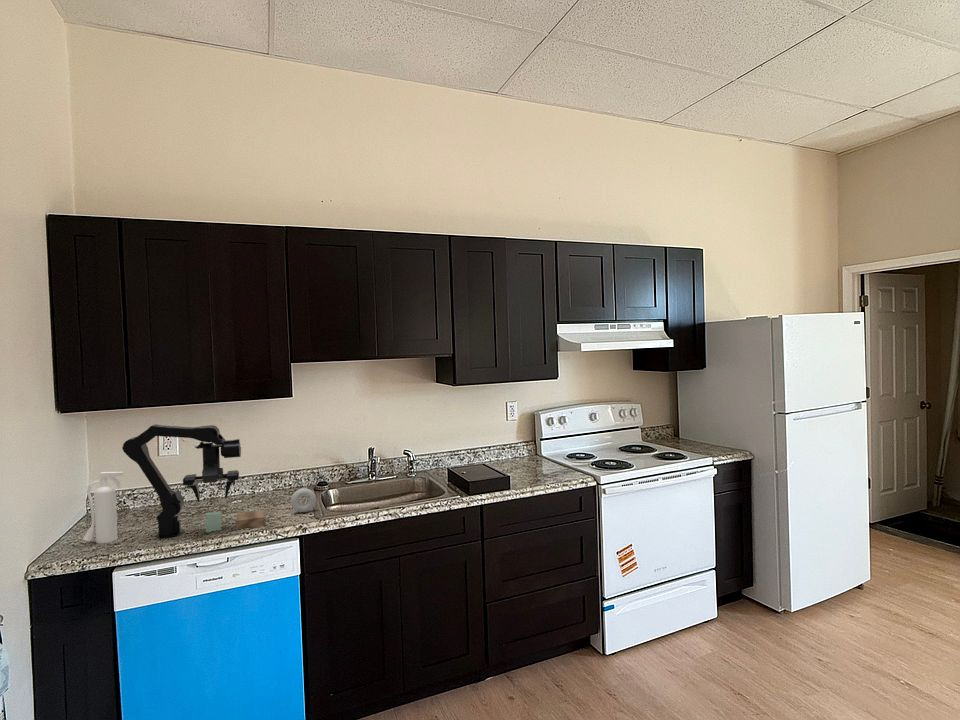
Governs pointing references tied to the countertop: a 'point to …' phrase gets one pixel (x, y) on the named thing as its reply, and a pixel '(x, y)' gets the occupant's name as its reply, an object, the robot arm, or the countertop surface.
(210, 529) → the sage block
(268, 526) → the countertop surface
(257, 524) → the walnut base
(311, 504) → the donut
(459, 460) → the countertop surface
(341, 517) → the countertop surface
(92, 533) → the fire extinguisher
